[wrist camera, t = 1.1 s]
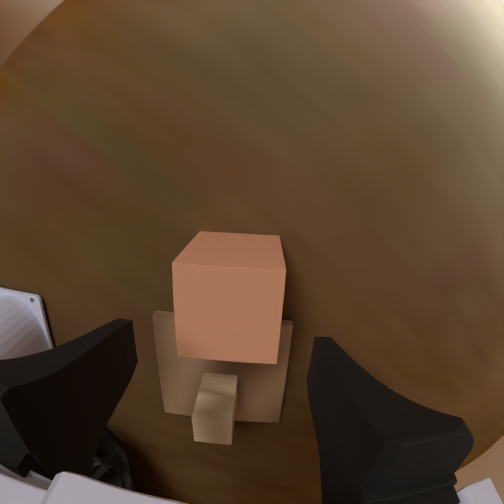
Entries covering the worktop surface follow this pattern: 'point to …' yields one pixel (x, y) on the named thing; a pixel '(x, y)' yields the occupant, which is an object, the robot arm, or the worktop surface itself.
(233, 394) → the post
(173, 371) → the board
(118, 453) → the backpack
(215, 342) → the pink rectangular block
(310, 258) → the worktop surface
